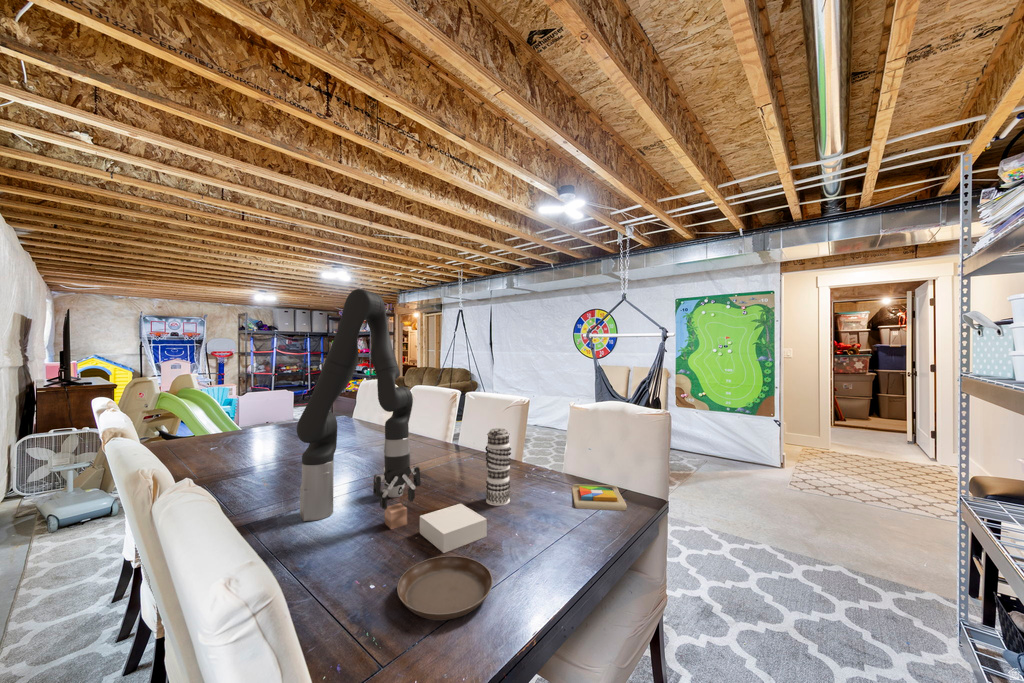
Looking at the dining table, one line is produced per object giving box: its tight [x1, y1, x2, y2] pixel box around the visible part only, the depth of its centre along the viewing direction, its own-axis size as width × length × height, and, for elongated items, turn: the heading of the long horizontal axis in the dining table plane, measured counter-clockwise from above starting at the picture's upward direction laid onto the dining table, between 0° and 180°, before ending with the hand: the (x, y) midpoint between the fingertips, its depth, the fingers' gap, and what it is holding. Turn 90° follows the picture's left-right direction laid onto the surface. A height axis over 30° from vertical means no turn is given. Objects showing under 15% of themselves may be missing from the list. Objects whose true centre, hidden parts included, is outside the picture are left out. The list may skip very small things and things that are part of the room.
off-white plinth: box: [419, 502, 488, 554], centre depth 112 cm, size 14×14×5 cm
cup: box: [383, 466, 406, 498], centre depth 141 cm, size 8×8×10 cm
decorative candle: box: [485, 428, 512, 507], centre depth 136 cm, size 9×9×25 cm
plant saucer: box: [396, 555, 494, 621], centre depth 85 cm, size 21×21×3 cm
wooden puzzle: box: [571, 483, 628, 512], centre depth 139 cm, size 18×19×4 cm
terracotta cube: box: [384, 503, 408, 530], centre depth 119 cm, size 5×5×5 cm
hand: (397, 504), depth 119 cm, fingers open, 8 cm apart
